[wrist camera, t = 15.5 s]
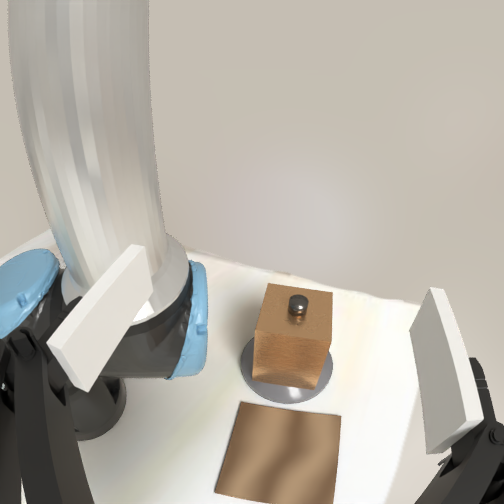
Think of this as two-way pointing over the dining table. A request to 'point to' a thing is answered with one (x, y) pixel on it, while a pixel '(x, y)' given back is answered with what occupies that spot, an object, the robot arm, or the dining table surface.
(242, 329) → the dining table surface
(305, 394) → the plate
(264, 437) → the board
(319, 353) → the wooden cube with knob
